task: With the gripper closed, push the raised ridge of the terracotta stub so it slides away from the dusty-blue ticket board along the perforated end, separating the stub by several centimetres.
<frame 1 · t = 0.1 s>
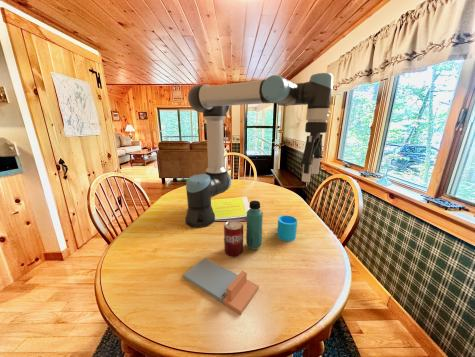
hand: (310, 177, 76), 28 cm above the table, fingers open, 13 cm apart
ticket: (212, 278, 63), on the table
mug: (285, 234, 88), on the table
beverage bottle: (253, 247, 79), on the table
soda can: (233, 252, 76), on the table
stub: (233, 290, 58), on the table, slide at 0.0 cm
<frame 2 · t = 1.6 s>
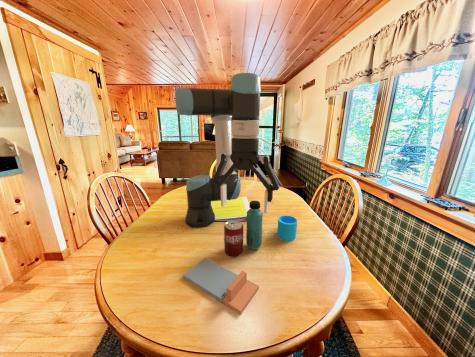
hand: (244, 207, 59), 24 cm above the table, fingers open, 13 cm apart
nothing on the table moved.
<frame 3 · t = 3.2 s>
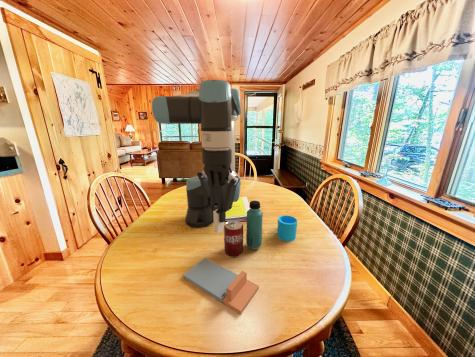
hand: (219, 230, 55), 19 cm above the table, fingers closed
nothing on the table moved.
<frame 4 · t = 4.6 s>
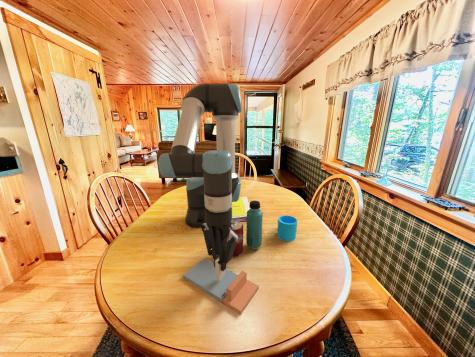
hand: (220, 276, 60), 3 cm above the table, fingers closed
nothing on the table moved.
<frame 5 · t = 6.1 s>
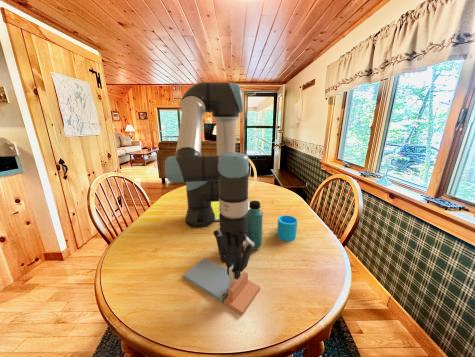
hand: (233, 285, 57), 3 cm above the table, fingers closed
stub: (234, 291, 58), on the table, slide at 0.5 cm, touching gripper
everything else where it was.
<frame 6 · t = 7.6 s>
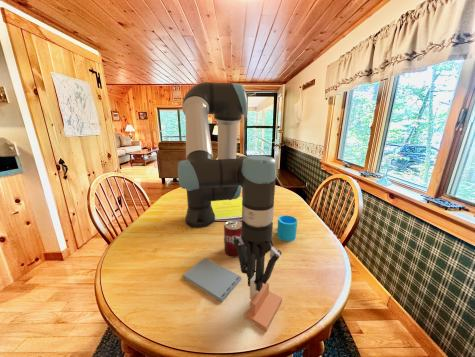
hand: (254, 296, 53), 3 cm above the table, fingers closed
stub: (255, 303, 54), on the table, slide at 7.5 cm, touching gripper
everything else where it was.
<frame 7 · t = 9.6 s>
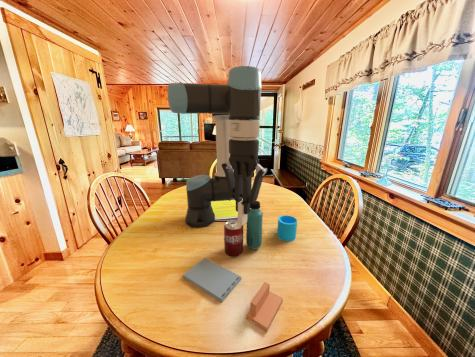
hand: (242, 222, 55), 22 cm above the table, fingers closed
stub: (255, 303, 54), on the table, slide at 7.7 cm
everything else where it was.
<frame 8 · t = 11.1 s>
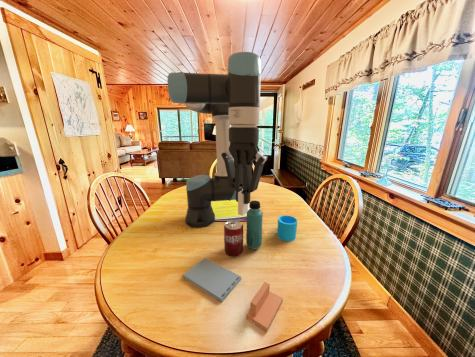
hand: (242, 213, 54), 24 cm above the table, fingers closed
nothing on the table moved.
at the end: stub slide at 7.7 cm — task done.
